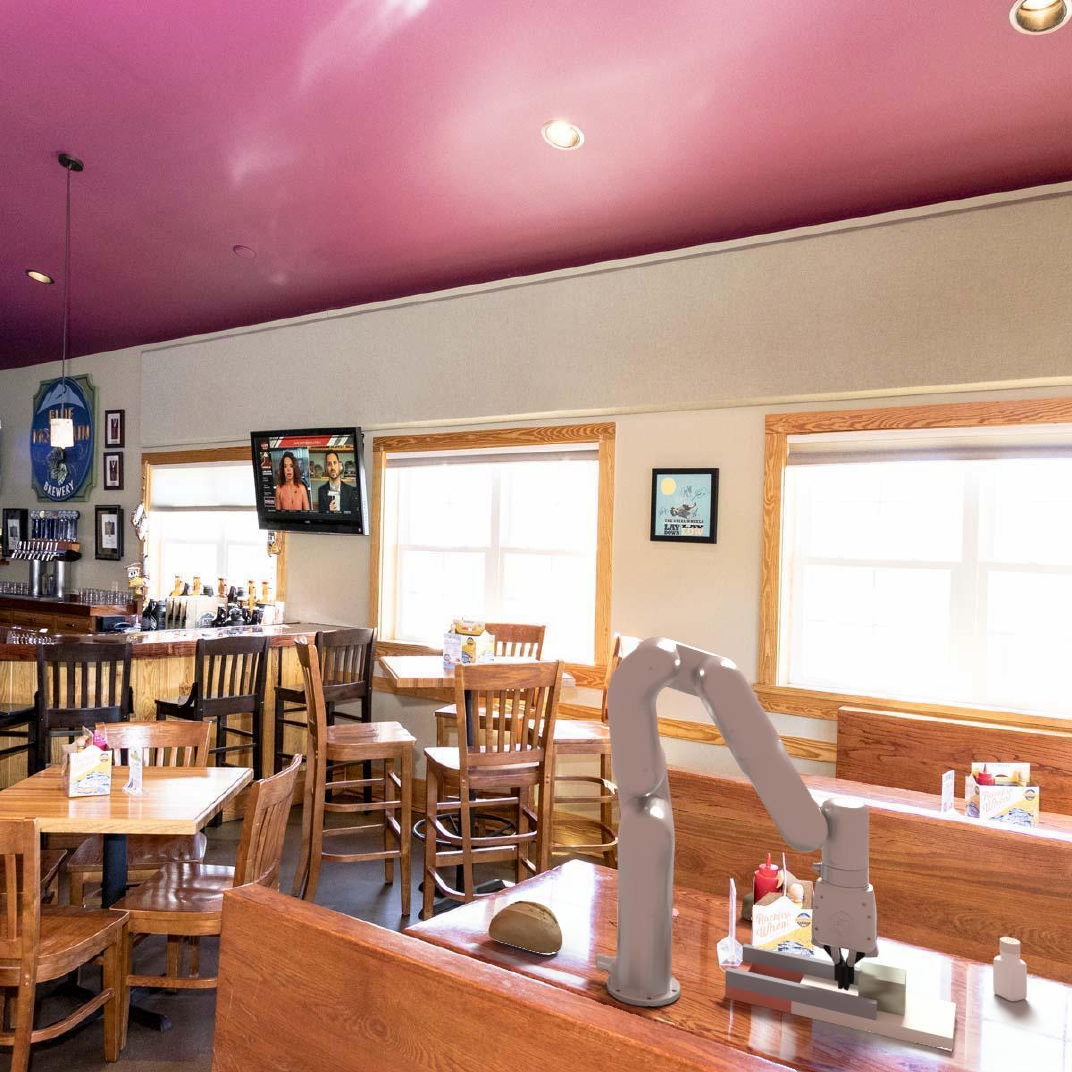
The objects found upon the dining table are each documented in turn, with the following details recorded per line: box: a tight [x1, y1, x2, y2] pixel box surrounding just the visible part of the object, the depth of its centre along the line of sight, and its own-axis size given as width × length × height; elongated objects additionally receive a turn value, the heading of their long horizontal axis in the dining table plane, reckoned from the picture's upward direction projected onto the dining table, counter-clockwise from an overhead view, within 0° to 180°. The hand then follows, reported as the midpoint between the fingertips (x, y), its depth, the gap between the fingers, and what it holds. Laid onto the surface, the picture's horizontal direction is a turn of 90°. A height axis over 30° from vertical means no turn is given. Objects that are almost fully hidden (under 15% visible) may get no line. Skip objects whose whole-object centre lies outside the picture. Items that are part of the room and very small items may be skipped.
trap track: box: [724, 943, 957, 1050], centre depth 150 cm, size 35×13×4 cm, turn 63°
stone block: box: [740, 891, 755, 922], centre depth 187 cm, size 6×12×5 cm, turn 55°
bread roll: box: [488, 900, 563, 953], centre depth 172 cm, size 10×15×8 cm, turn 67°
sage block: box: [858, 960, 907, 1016], centre depth 148 cm, size 7×6×5 cm
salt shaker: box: [992, 936, 1028, 1002], centre depth 156 cm, size 4×4×10 cm
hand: (844, 986), depth 150 cm, fingers closed
